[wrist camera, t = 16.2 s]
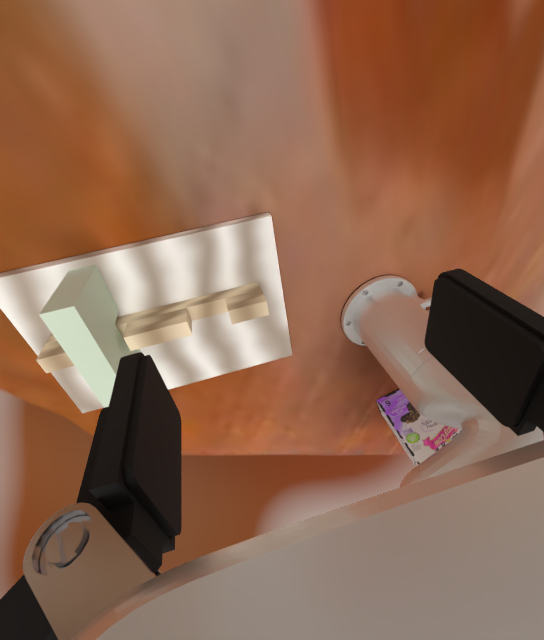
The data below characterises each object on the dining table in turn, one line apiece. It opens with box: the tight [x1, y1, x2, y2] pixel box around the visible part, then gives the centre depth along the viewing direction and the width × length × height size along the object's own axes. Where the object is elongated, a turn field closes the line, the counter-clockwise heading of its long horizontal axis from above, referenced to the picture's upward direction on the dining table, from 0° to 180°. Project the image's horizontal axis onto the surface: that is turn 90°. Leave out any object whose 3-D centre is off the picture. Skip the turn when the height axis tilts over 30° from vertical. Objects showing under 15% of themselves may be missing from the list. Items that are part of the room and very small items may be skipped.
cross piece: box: [39, 265, 141, 408], centre depth 36 cm, size 16×3×9 cm, turn 9°
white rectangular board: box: [0, 212, 292, 413], centre depth 40 cm, size 32×22×6 cm
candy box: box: [376, 389, 461, 467], centre depth 58 cm, size 14×6×16 cm, turn 115°
